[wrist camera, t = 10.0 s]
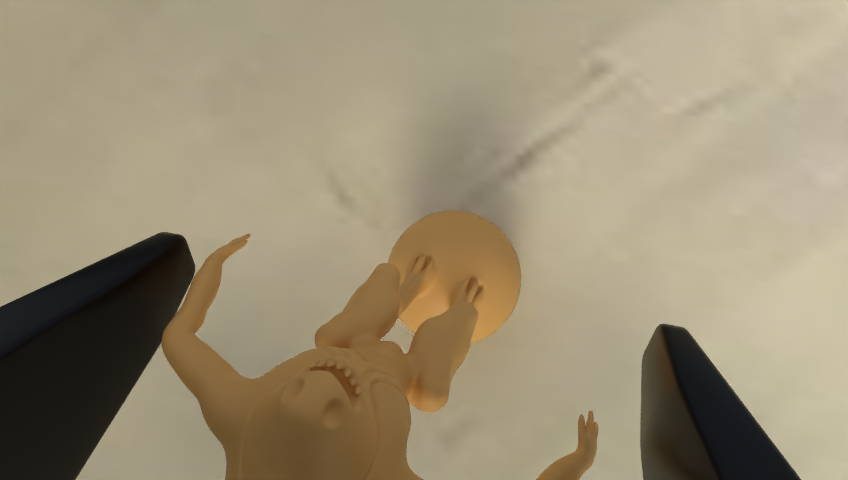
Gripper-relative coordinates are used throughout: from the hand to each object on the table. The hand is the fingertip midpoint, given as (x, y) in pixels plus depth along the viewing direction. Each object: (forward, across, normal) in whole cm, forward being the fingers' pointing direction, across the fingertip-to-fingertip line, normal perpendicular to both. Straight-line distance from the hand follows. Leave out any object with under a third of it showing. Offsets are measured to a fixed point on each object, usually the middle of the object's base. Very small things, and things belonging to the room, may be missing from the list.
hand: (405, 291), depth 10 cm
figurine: (+5, 0, +6) cm, 8 cm away
